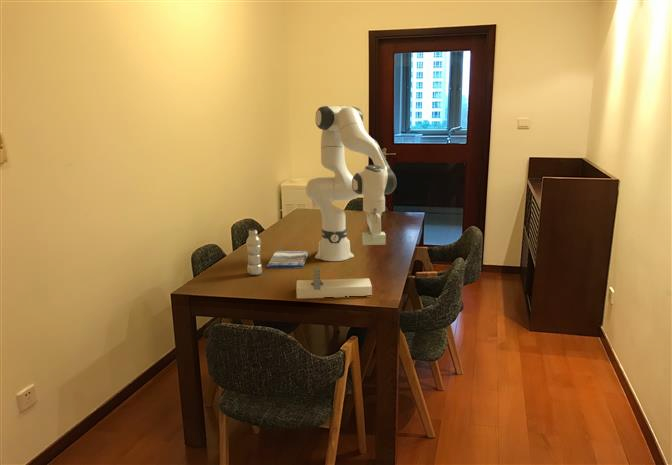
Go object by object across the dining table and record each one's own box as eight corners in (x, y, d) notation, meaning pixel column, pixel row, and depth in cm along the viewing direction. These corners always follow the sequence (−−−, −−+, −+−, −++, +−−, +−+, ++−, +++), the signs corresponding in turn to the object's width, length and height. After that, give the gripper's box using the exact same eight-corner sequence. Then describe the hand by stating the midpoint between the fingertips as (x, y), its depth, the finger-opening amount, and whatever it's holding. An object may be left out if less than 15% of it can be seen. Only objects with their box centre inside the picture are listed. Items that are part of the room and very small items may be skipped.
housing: (297, 289, 216) (296, 280, 215) (369, 287, 217) (369, 278, 216) (296, 298, 206) (296, 288, 205) (371, 296, 207) (371, 286, 206)
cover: (362, 241, 221) (362, 230, 220) (384, 241, 221) (384, 229, 220) (363, 244, 216) (363, 233, 215) (385, 244, 216) (385, 232, 215)
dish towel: (308, 255, 267) (308, 250, 266) (303, 269, 244) (303, 263, 243) (274, 255, 268) (274, 249, 267) (265, 269, 245) (265, 263, 244)
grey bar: (313, 291, 201) (312, 282, 200) (313, 275, 220) (313, 266, 219) (321, 291, 201) (320, 282, 200) (320, 274, 220) (320, 266, 219)
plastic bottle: (255, 271, 241) (253, 227, 236) (265, 273, 237) (263, 229, 232) (244, 274, 236) (241, 230, 231) (254, 277, 232) (252, 232, 227)
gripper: (385, 211, 205) (384, 246, 209) (378, 201, 225) (378, 233, 228) (368, 212, 205) (368, 247, 208) (363, 201, 225) (363, 233, 228)
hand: (373, 239), depth 218 cm, fingers closed on cover, 5 cm apart
